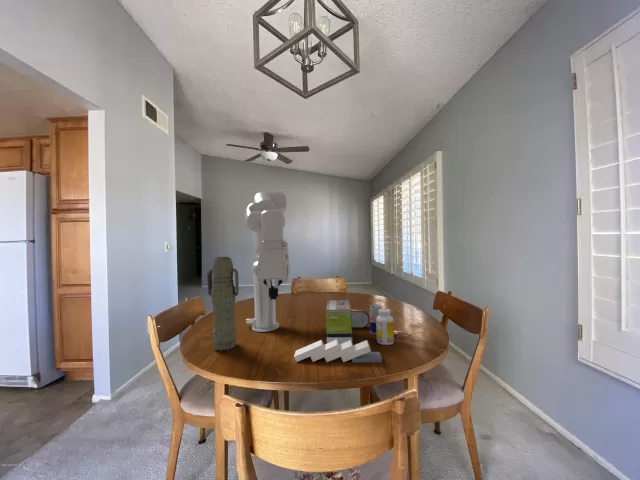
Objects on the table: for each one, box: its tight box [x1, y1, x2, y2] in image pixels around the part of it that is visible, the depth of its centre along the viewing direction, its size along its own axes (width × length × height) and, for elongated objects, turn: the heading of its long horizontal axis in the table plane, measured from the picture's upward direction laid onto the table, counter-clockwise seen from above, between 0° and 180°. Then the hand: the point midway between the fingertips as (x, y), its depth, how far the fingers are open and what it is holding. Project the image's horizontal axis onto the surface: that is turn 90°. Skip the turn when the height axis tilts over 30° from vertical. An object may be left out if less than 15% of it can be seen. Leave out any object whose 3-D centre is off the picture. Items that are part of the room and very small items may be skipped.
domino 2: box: [310, 339, 340, 362], centre depth 98 cm, size 2×5×10 cm
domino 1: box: [293, 339, 325, 363], centre depth 98 cm, size 2×5×10 cm
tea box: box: [325, 299, 353, 345], centre depth 116 cm, size 15×10×15 cm
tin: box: [351, 308, 370, 329], centre depth 130 cm, size 15×3×8 cm, turn 84°
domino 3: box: [324, 340, 354, 363], centre depth 98 cm, size 2×5×10 cm
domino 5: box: [351, 351, 383, 363], centre depth 97 cm, size 2×5×10 cm
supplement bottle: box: [376, 308, 395, 346], centre depth 112 cm, size 7×7×13 cm
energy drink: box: [368, 303, 383, 336], centre depth 122 cm, size 5×5×12 cm
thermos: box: [206, 256, 240, 352], centre depth 110 cm, size 9×12×35 cm
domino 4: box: [340, 340, 372, 363], centre depth 97 cm, size 2×5×10 cm
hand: (273, 298), depth 98 cm, fingers closed
